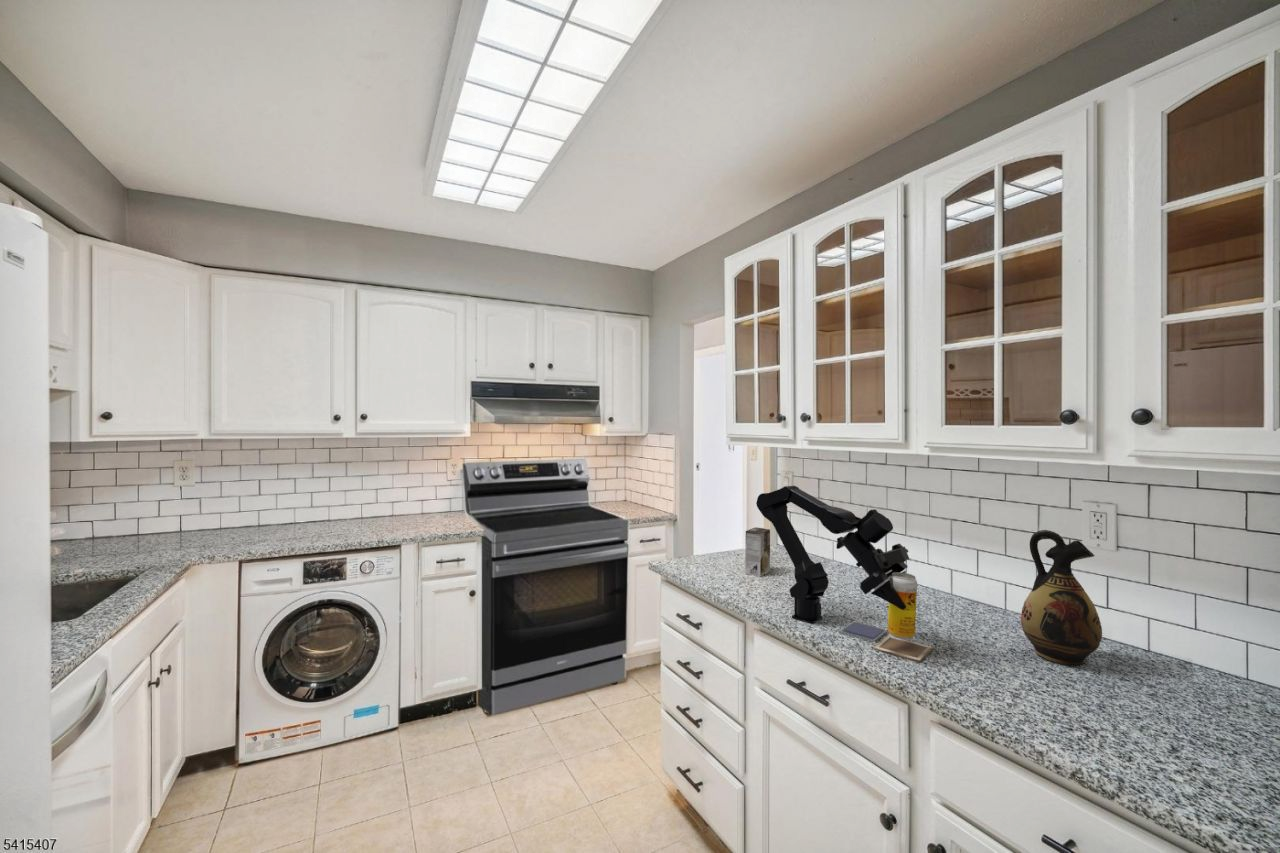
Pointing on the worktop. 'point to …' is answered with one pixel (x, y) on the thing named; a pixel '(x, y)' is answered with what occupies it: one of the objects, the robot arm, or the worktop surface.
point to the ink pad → (863, 631)
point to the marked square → (903, 648)
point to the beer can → (904, 620)
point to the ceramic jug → (1060, 606)
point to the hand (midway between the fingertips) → (908, 605)
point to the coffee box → (757, 551)
